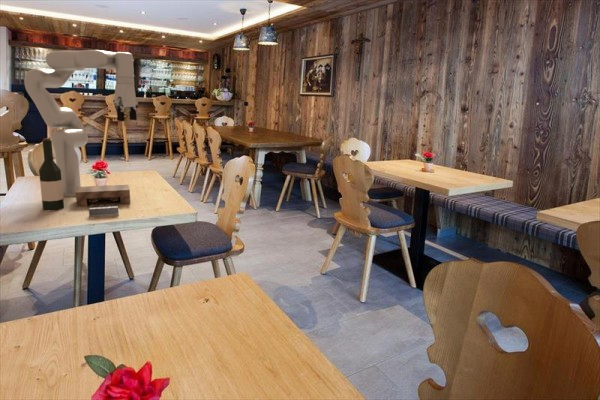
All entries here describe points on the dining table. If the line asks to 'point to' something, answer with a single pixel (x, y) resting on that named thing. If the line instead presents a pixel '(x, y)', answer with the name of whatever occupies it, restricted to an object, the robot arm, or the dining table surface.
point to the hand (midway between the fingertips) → (127, 120)
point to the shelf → (102, 194)
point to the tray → (103, 210)
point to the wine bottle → (50, 180)
